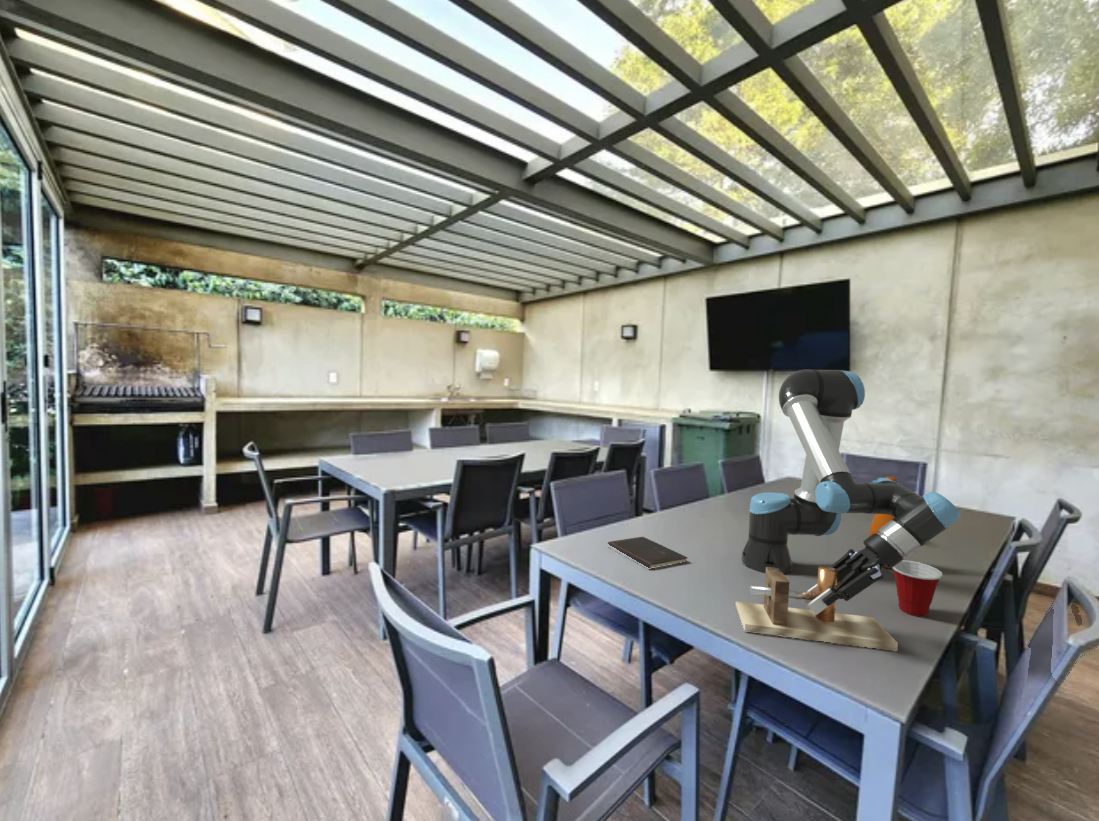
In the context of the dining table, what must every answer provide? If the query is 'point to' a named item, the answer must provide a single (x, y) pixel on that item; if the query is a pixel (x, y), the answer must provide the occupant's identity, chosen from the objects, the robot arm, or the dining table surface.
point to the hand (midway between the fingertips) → (808, 605)
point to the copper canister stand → (808, 620)
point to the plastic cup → (915, 586)
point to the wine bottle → (881, 519)
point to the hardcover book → (647, 552)
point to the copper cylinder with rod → (825, 580)
